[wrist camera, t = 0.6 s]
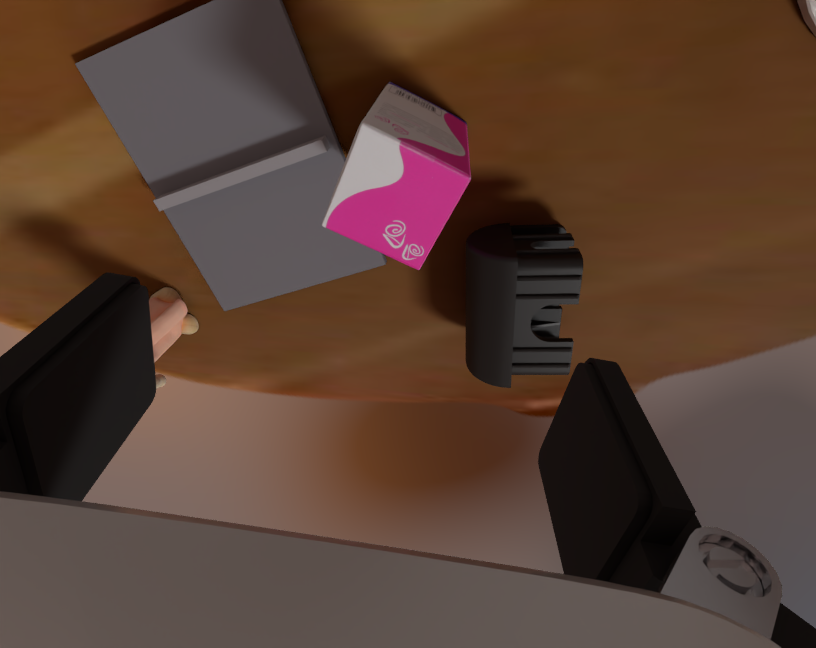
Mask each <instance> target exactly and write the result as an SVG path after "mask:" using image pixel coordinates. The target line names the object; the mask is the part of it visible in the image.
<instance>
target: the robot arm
mask: <svg viewBox="0 0 816 648" xmlns="http://www.w3.org/2000/svg"><path fill="white" fill-rule="evenodd" d="M797 2H798V5H799V8H800V10H801V13H802V16H803V18H804V21H805V23H806V24H807V25H808V27H809V28H810V30H811V31H812V32H813V34H814V35H815V37H816V0H797ZM155 393H156V376H155V365H154V353H153V342H152V330H151V319H150V307H149V296H148V290H147V288H146V287H145V286H143V285H140V282H139V280H138V279H137V278H136V277H131V276H125V275H120V274H114V273H105V274H103V275H102V276H100V277H99V278H98V279H97V280H95V281H94V282H93V283H92V284H90V285H89V286H88V287H87V288H85V289H84V290H83V291H82V292H81V293H79V294H78V295H77V296H76V297H74V298H73V299H72V300H71V301H69V302H68V303H67V304H66V305H64V306H63V307H62V308H61V309H59V310H58V311H57V312H56V313H54V314H53V315H52V316H51V317H49V318H48V319H47V320H46V321H44V322H43V323H42V324H41V325H39V326H38V327H37V328H36V329H35V330H33V331H32V332H31V333H30V334H28V335H27V336H26V337H25V338H23V339H22V340H21V341H20V342H18V343H17V344H16V345H15V346H13V347H12V348H11V349H10V350H8V351H7V352H6V353H5V354H3V355H2V356H1V357H0V648H816V629H815V628H814V627H813V626H811V625H810V624H809V623H807V622H806V621H804V620H803V619H802V618H800V617H799V616H798V615H796V614H795V613H794V612H792V611H791V610H790V609H788V608H787V607H785V606H784V605H783V604H781V603H780V601H781V597H782V585H781V582H780V580H779V577H778V575H777V573H776V571H775V570H774V568H773V567H772V566H771V564H770V563H769V561H768V560H767V559H766V558H765V557H764V556H763V555H762V554H761V553H760V552H759V551H758V550H757V549H756V548H755V547H753V546H752V545H751V544H749V543H748V542H747V541H745V540H744V539H742V538H740V537H739V536H737V535H735V534H733V533H731V532H729V531H726V530H723V529H720V528H717V527H701V525H700V523H699V521H698V519H697V517H696V516H695V512H696V511H695V509H694V507H693V506H692V503H691V501H690V499H689V498H688V496H687V494H686V492H685V490H684V488H683V486H682V484H681V483H680V481H679V479H678V477H677V475H676V473H675V471H674V469H673V467H672V465H671V464H670V462H669V460H668V458H667V456H666V454H665V452H664V450H663V448H662V447H661V445H660V443H659V441H658V439H657V437H656V435H655V433H654V431H653V429H652V427H651V425H650V424H649V422H648V420H647V418H646V416H645V414H644V412H643V410H642V408H641V407H640V405H639V403H638V401H637V399H636V397H635V395H634V393H633V391H632V389H631V388H630V386H629V384H628V382H627V380H626V378H625V376H624V374H623V372H622V371H621V369H620V367H619V365H618V364H617V363H616V362H612V361H606V360H600V359H595V358H589V359H588V360H587V361H586V362H585V363H579V364H578V365H577V366H576V368H575V370H574V373H573V375H572V377H571V380H570V382H569V384H568V386H567V389H566V391H565V393H564V396H563V398H562V400H561V403H560V405H559V407H558V410H557V412H556V414H555V416H554V419H553V421H552V424H551V426H550V428H549V430H548V433H547V435H546V437H545V440H544V442H543V444H542V446H541V449H540V452H539V460H538V462H539V463H538V464H539V469H540V473H541V477H542V482H543V486H544V490H545V494H546V499H547V503H548V507H549V512H550V516H551V520H552V524H553V529H554V533H555V537H556V541H557V545H558V550H559V554H560V558H561V562H562V567H563V571H564V574H560V573H554V572H548V571H542V570H536V569H530V568H524V567H518V566H511V565H505V564H499V563H492V562H486V561H479V560H472V559H466V558H460V557H454V556H447V555H441V554H435V553H428V552H422V551H415V550H409V549H403V548H396V547H389V546H383V545H376V544H369V543H363V542H356V541H350V540H342V539H336V538H330V537H323V536H317V535H310V534H303V533H296V532H290V531H283V530H277V529H270V528H263V527H256V526H250V525H243V524H236V523H229V522H223V521H216V520H209V519H202V518H195V517H188V516H180V515H174V514H167V513H160V512H153V511H147V510H140V509H133V508H126V507H119V506H112V505H105V504H97V503H89V502H82V500H83V499H84V497H85V496H86V494H87V493H88V492H89V490H90V489H91V487H92V486H93V485H94V483H95V482H96V480H97V479H98V477H99V476H100V475H101V473H102V472H103V470H104V469H105V468H106V466H107V465H108V463H109V462H110V461H111V459H112V458H113V456H114V455H115V454H116V452H117V451H118V449H119V448H120V447H121V445H122V444H123V442H124V441H125V440H126V438H127V437H128V435H129V434H130V432H131V431H132V430H133V428H134V427H135V426H136V424H137V423H138V421H139V420H140V419H141V417H142V416H143V414H144V413H145V412H146V410H147V409H148V407H149V406H150V405H151V403H152V401H153V399H154V397H155Z"/></svg>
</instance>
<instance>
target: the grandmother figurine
mask: <svg viewBox="0 0 816 648" xmlns="http://www.w3.org/2000/svg"><path fill="white" fill-rule="evenodd" d="M149 307H150V319H151V330H152V342H153V353H154V362H156V361H157V360H158V359H159V358H160V356H161V355H162V354H163V353H164V352H165V351H166V350H167V349H168V348H169V347H170V346H171V345H172V344H173V343H174V342H175V341H176V340H177V339H178V338H179V337H180V335H181V333H182V334H193V333H195V332H196V331H197V330H198V328H199V325H198V322H197V320H196V318H195V317H193V316H192V315H190V314H187V307H186V305H185V303H184V302H183V301H182V299H181V297H180V295H179V294H178V293H177V291H175V290H174V289H172V288H169V287H165V288H162V289H160V290H159V291H157V292H156V293H154V294H153V295H152V296H151V297H150V300H149ZM155 376H156V389H157V388H159V387H162V386H164V385H165V383H166V378H165V377H164V376H163V375H161V374H158V375H155Z"/></svg>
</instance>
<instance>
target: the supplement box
mask: <svg viewBox="0 0 816 648" xmlns="http://www.w3.org/2000/svg"><path fill="white" fill-rule="evenodd" d="M470 180H471V171H470V162H469V147H468V136H467V123H466V122H465V121H464V120H462V119H460V118H459V117H457V116H455V115H453V114H452V113H450V112H448V111H446V110H444V109H442V108H440V107H439V106H437V105H435V104H433V103H431V102H429V101H427V100H425V99H423V98H422V97H420V96H418V95H416V94H414V93H412V92H410V91H408V90H406V89H404V88H402V87H400V86H398V85H396V84H394V83H392V82H389V83H388V84H387V85H386V86H385V88H384V89H383V91H382V92H381V94H380V95H379V97H378V98H377V100H376V101H375V103H374V104H373V106H372V107H371V109H370V110H369V112H368V113H367V114H366V116H365V118H364V119H363V120H362V122H361V123H360V125H359V128H358V130H357V133H356V135H355V138H354V140H353V143H352V145H351V148H350V150H349V153H348V156H347V158H346V161H345V164H344V166H343V169H342V171H341V174H340V176H339V179H338V182H337V184H336V187H335V190H334V192H333V195H332V198H331V201H330V203H329V206H328V209H327V212H326V214H325V217H324V219H323V222H322V226H323V227H325V228H328V229H330V230H332V231H334V232H336V233H338V234H340V235H343V236H345V237H347V238H349V239H352V240H354V241H356V242H358V243H360V244H362V245H365V246H367V247H369V248H371V249H373V250H376V251H378V252H380V253H382V254H384V255H386V256H389V257H391V258H393V259H395V260H397V261H400V262H402V263H404V264H406V265H408V266H411V267H413V268H415V269H417V270H420V268H421V266H422V264H423V263H424V261H425V259H426V257H427V256H428V254H429V252H430V250H431V249H432V247H433V245H434V243H435V242H436V240H437V238H438V236H439V235H440V233H441V231H442V229H443V228H444V226H445V224H446V222H447V221H448V219H449V217H450V215H451V214H452V212H453V210H454V208H455V207H456V205H457V203H458V201H459V200H460V198H461V196H462V194H463V193H464V191H465V189H466V187H467V185H468V184H469V182H470Z"/></svg>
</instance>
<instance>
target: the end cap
mask: <svg viewBox="0 0 816 648" xmlns="http://www.w3.org/2000/svg"><path fill="white" fill-rule="evenodd" d="M569 246H574V239H573V237H572V235H571V233H566V230H565V228H564V227H563V226H562V225H558V224H552V225H514V226H510V223H506V224H496V225H491V226H487V227H484V228H481V229H478V230H476V231H474V232H473V233H472V234H471V235H470V236H469V237H468V238H467V241H466V364H467V367H468V369H469V371H470V372H471V373H472V374H473V375H474V376H475V377H476V378H478V379H479V380H481V381H483V382H485V383H487V384H490V385H493V386H498V387H507V388H511V375H568V374H569V372H570V364H571V356H572V349H573V339H572V338H559V330H560V322H561V313H562V308H561V306H559V304H578V303H579V295H580V288H581V280H582V272H583V258H582V255H581V253H580V251H579V249H578V248H569Z"/></svg>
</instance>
